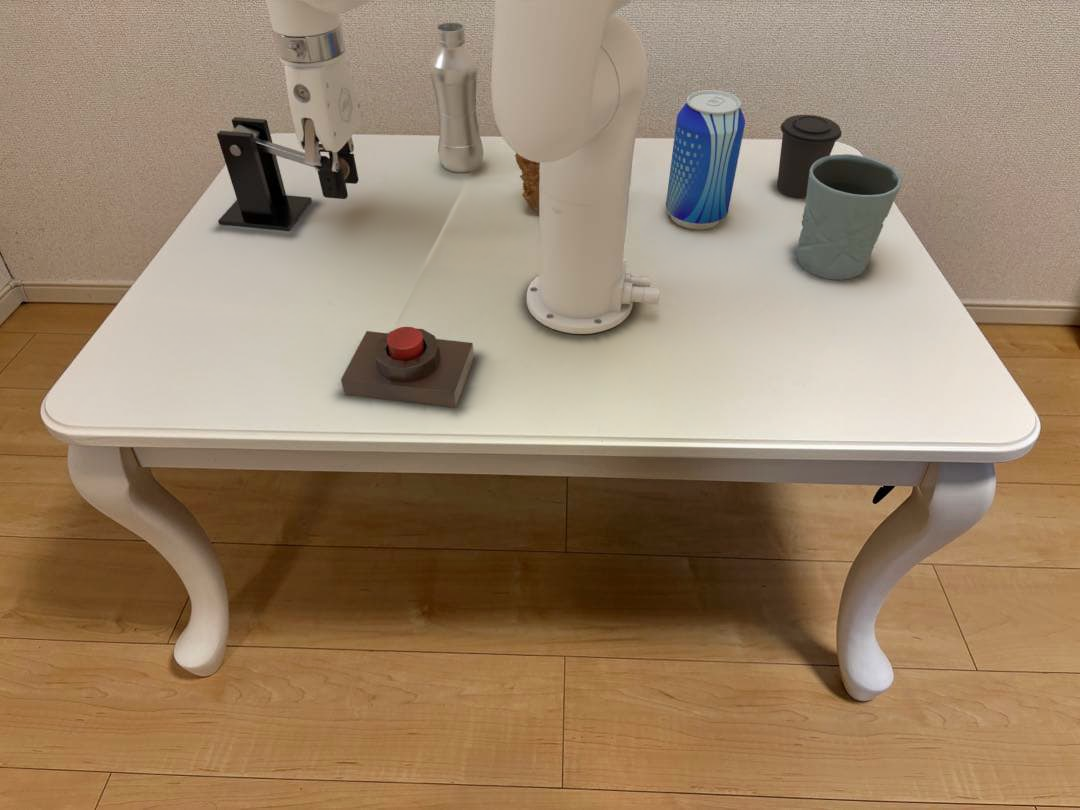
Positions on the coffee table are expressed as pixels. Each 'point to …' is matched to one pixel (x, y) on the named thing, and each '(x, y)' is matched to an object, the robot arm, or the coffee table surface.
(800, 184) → the coffee cup
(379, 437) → the coffee table surface
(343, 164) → the lever
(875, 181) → the green embossed tumbler
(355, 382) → the button block
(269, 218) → the bracket
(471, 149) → the silver metal bottle
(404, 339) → the button
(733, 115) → the beer can
